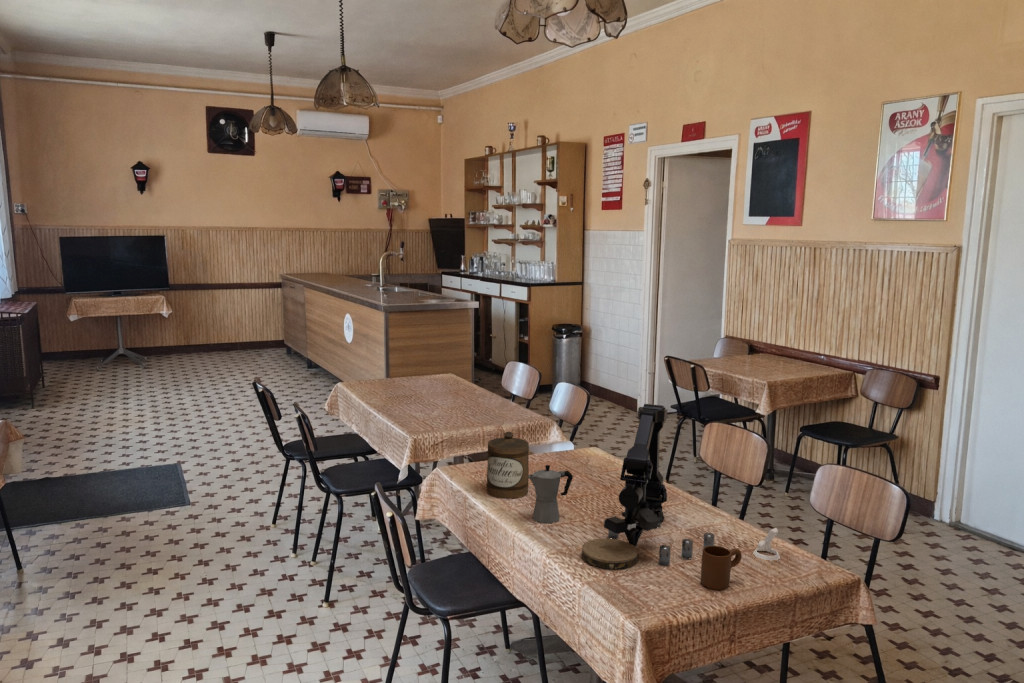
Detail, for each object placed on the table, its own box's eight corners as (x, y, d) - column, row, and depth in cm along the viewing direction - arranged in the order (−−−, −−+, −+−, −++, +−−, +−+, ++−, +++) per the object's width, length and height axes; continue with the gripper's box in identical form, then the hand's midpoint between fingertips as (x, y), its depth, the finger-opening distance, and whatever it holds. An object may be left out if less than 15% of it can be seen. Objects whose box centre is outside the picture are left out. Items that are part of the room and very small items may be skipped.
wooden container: (480, 495, 267) (482, 435, 264) (494, 483, 281) (496, 425, 278) (520, 501, 263) (522, 439, 260) (533, 488, 277) (535, 429, 274)
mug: (729, 573, 211) (732, 541, 209) (748, 585, 204) (751, 552, 202) (694, 580, 206) (696, 547, 204) (712, 592, 199) (714, 558, 198)
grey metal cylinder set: (606, 536, 234) (606, 520, 233) (656, 523, 246) (656, 508, 245) (664, 567, 214) (665, 550, 213) (715, 551, 225) (716, 535, 224)
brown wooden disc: (645, 555, 222) (645, 546, 221) (625, 576, 208) (625, 565, 207) (595, 543, 229) (595, 534, 229) (572, 562, 216) (572, 552, 215)
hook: (779, 553, 212) (762, 533, 216) (762, 574, 221) (745, 555, 224) (797, 542, 216) (779, 523, 220) (779, 564, 224) (762, 545, 228)
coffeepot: (531, 525, 241) (533, 470, 239) (522, 515, 250) (523, 462, 248) (576, 521, 246) (578, 467, 243) (565, 511, 255) (567, 459, 252)
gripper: (630, 511, 209) (627, 565, 212) (678, 500, 220) (675, 551, 222) (603, 499, 219) (601, 550, 221) (651, 488, 229) (648, 538, 231)
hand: (632, 548), depth 223 cm, fingers closed
